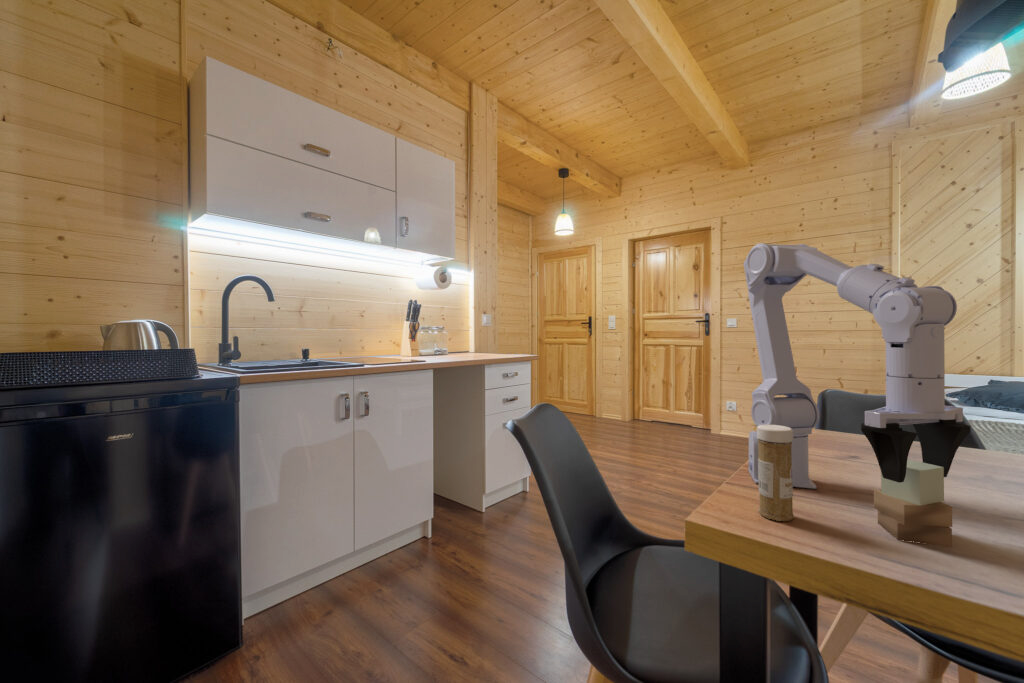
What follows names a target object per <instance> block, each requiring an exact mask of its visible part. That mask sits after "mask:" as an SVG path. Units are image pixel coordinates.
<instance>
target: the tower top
mask: <svg viewBox="0 0 1024 683" xmlns="http://www.w3.org/2000/svg"><path fill="white" fill-rule="evenodd" d="M873 508H874V509H875V510H877V511H878V510H879V511H880V512H882V513H884V514H886V515H888V516H889V517H891V518H893V519H895V520H896V521H898V522H900V523H902V524H904V525H918V526H941V527H950V528H953V506H952V505H949V504H947V503H945V502H944V501H943V502H937V503H932V504H926V505H921V506H920V505H917V504H914V503H910V502H907V501H904V500H901V499H898V498H894V497H891V496H888V495H885V494H882V493H881V489H873Z"/></svg>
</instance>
